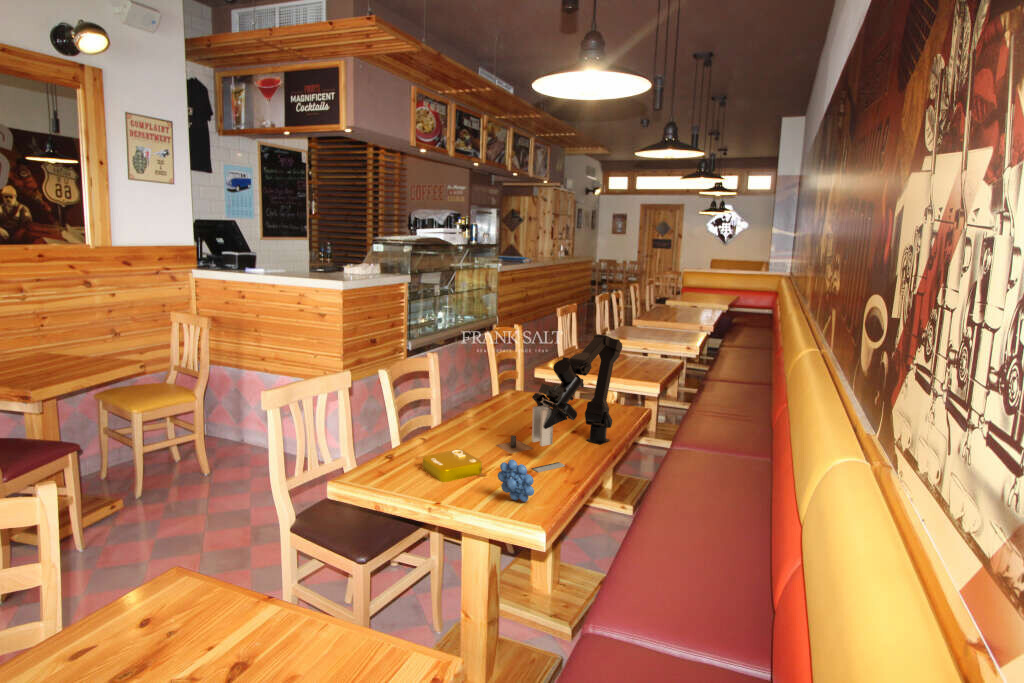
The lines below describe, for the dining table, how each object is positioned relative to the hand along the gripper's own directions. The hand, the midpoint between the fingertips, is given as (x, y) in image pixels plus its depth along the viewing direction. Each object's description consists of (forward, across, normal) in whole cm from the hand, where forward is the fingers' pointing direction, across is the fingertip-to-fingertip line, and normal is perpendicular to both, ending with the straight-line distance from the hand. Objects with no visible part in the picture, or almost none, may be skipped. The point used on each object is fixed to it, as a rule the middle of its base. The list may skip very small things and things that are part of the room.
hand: (539, 425), depth 202 cm
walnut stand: (+8, -16, +11) cm, 21 cm away
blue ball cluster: (+26, +20, -7) cm, 34 cm away
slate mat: (+9, 0, +10) cm, 14 cm away
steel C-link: (+3, 0, +5) cm, 6 cm away
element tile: (+29, -10, -9) cm, 32 cm away
